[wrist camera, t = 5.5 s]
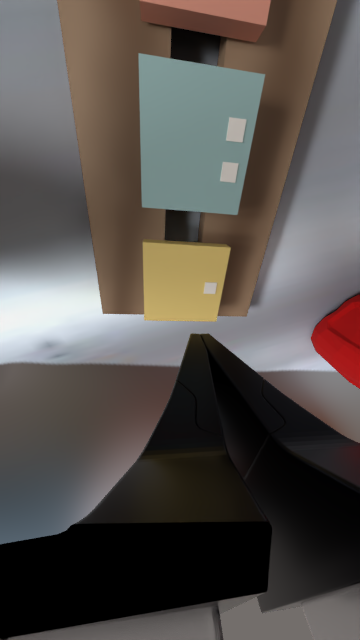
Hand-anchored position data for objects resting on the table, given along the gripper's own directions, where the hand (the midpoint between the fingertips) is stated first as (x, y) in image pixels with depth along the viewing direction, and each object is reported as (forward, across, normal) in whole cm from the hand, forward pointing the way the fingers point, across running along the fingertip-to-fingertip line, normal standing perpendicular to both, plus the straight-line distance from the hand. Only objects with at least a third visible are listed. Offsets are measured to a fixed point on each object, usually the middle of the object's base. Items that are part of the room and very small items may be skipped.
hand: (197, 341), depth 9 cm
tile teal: (+9, 0, -8) cm, 12 cm away
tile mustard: (+9, 0, 0) cm, 9 cm away
